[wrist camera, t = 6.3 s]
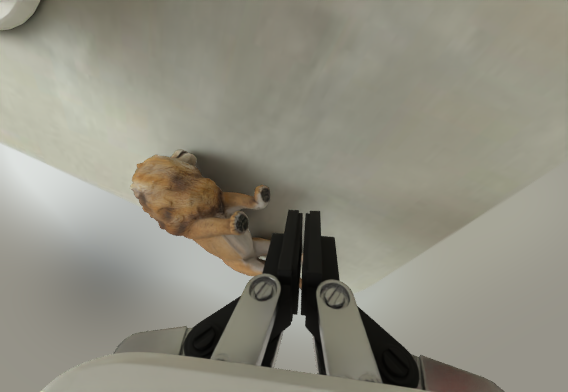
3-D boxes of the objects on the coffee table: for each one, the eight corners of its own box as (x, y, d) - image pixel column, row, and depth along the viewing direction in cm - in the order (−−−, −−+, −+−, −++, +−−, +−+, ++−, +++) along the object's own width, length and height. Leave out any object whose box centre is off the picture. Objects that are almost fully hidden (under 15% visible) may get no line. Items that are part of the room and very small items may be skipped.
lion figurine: (247, 114, 12) (158, 145, 16) (183, 167, 8) (91, 187, 13) (321, 268, 20) (246, 259, 24) (304, 330, 16) (220, 306, 21)
